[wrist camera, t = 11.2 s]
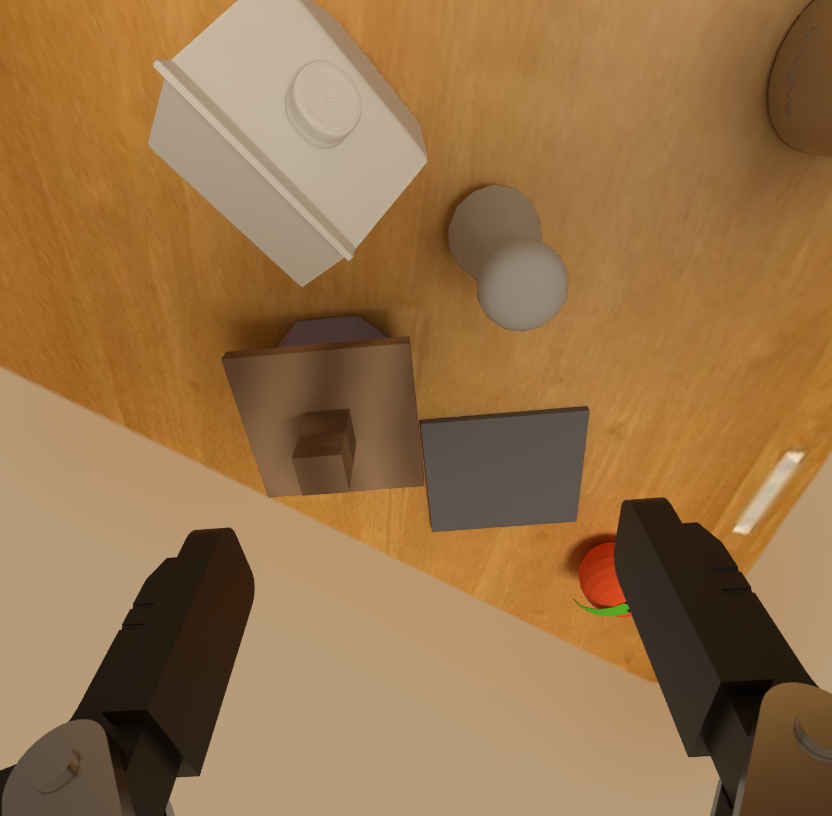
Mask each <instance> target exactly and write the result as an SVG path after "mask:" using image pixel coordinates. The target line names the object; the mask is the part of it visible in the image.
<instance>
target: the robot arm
mask: <svg viewBox="0 0 832 816" xmlns="http://www.w3.org/2000/svg"><path fill="white" fill-rule="evenodd" d="M768 106H769V113H770V117H771V121H772V124H773V127H774V128H775V130H776V131H777V133H778V135H779V136H780V138H781V139H782V140H784V141H785V142H786V143H787V144H788V145H789V146H790V147H793V148H795V149H798V150H800V151H802V152H806V153H811V154H816V155H821V156H826V157H831V158H832V0H814V1H813V2H812V3H811V4H810V5H809V6H808V7H807V8H806V9H805V11H804V12H803V13H802V14H801V15H800V17H799V18H798V20H797V21H796V23H795V24H794V25H793V27H792V28H791V30H790V31H789V33H788V35H787V37H786V38H785V40H784V42H783V44H782V46H781V48H780V50H779V52H778V55H777V58H776V61H775V64H774V67H773V70H772V73H771V77H770V84H769V90H768ZM614 565H615V571H616V575H617V579H618V582H619V584H620V587H621V589H622V592H623V594H624V597H625V599H626V602H627V604H628V607H629V609H630V612H631V614H632V617H633V619H634V622H635V624H636V627H637V629H638V632H639V635H640V637H641V640H642V642H643V645H644V647H645V650H646V652H647V655H648V657H649V660H650V662H651V665H652V667H653V670H654V672H655V675H656V677H657V680H658V682H659V685H660V687H661V689H662V692H663V694H664V697H665V700H666V702H667V705H668V707H669V710H670V712H671V715H672V717H673V720H674V722H675V725H676V727H677V730H678V732H679V735H680V737H681V740H682V742H683V745H684V747H685V750H686V752H687V755H688V757H700V756H711V758H712V760H713V763H714V765H715V767H716V770H717V772H718V774H719V777H720V779H719V782H718V785H717V789H716V793H715V797H714V802H713V806H712V810H711V814H710V816H832V694H831V693H829V692H827V691H825V690H822V689H820V688H819V687H818V686H817V685H816V684H815V682H814V681H813V680H812V679H811V677H810V676H809V675H808V673H807V672H806V671H805V669H804V668H803V666H802V664H801V663H800V661H799V660H798V658H797V657H796V655H795V654H794V652H793V651H792V649H791V648H790V646H789V645H788V643H787V641H786V640H785V639H784V637H783V635H782V634H781V632H780V631H779V629H778V628H777V626H776V625H775V623H774V622H773V620H772V618H771V617H770V615H769V614H768V612H767V611H766V609H765V608H764V606H763V605H762V603H761V602H760V600H759V599H758V597H757V595H756V594H755V593H753V592H752V591H751V586H750V585H749V583H748V582H747V580H746V579H745V577H744V576H743V574H742V572H739V571H738V566H737V565H736V563H735V562H734V560H733V559H732V557H731V556H730V554H729V553H728V551H727V549H726V548H725V546H724V545H723V543H722V542H721V541H720V540H718V539H717V538H716V537H715V536H713V535H712V534H711V533H710V532H708V531H707V530H706V529H705V528H704V527H702V526H701V525H700V524H699V523H697V522H696V523H682V522H681V520H680V519H679V517H678V515H677V514H676V512H675V510H674V509H673V507H672V505H671V504H670V502H669V501H668V500H667V499H666V498H663V497H661V498H647V499H633V500H625V501H623V503H622V506H621V511H620V517H619V523H618V529H617V535H616V541H615V547H614ZM254 590H255V588H254V578H253V574H252V571H251V569H250V566H249V564H248V562H247V560H246V557H245V555H244V552H243V550H242V548H241V546H240V543H239V541H238V539H237V536H236V534H235V532H234V531H233V530H232V529H231V528H217V529H203V530H194V531H192V532H191V533H190V534H189V535H188V536H187V538H186V540H185V542H184V544H183V546H182V548H181V550H180V552H179V554H178V556H177V557H174V558H166V560H165V561H164V562H163V563H162V564H161V565H160V566H159V567H158V568H157V569H156V570H155V571H154V572H153V573H152V574H151V575H150V576H149V577H148V578H147V579H146V581H145V582H144V584H143V586H142V588H141V590H140V592H139V594H138V596H137V598H136V599H135V601H134V603H133V609H130V611H129V613H128V614H127V616H126V618H125V620H124V622H123V624H122V630H119V631H118V633H117V635H116V637H115V639H114V641H113V642H112V645H111V646H110V648H109V650H108V652H107V654H106V656H105V658H104V659H103V661H102V663H101V665H100V667H99V669H98V671H97V673H96V674H95V676H94V678H93V680H92V682H91V684H90V686H89V687H88V690H87V691H86V693H85V695H84V697H83V699H82V701H81V702H80V704H79V706H78V708H77V710H76V711H75V713H74V715H73V716H72V718H71V719H70V720H69V722H67V723H65V724H62V725H60V726H58V727H56V728H55V729H53V730H51V731H50V732H48V733H47V734H45V735H44V736H43V737H41V738H40V739H39V740H38V741H37V742H35V743H34V744H33V745H32V746H31V747H30V748H29V749H28V750H27V751H26V752H25V754H24V755H23V756H22V757H21V758H20V760H19V761H18V763H17V764H15V765H13V766H11V767H8V768H6V769H3V770H0V816H174V812H173V808H172V805H171V803H170V801H169V797H170V795H171V792H172V789H173V786H174V783H175V780H176V777H193V776H200V773H201V770H202V767H203V763H204V760H205V757H206V754H207V750H208V747H209V744H210V740H211V737H212V734H213V731H214V728H215V724H216V721H217V718H218V715H219V711H220V708H221V705H222V701H223V698H224V695H225V692H226V688H227V685H228V682H229V679H230V676H231V672H232V669H233V666H234V662H235V659H236V656H237V653H238V650H239V646H240V643H241V640H242V637H243V633H244V630H245V627H246V624H247V620H248V617H249V614H250V610H251V607H252V604H253V600H254Z"/></svg>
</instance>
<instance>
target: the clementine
mask: <svg viewBox="0 0 832 816" xmlns="http://www.w3.org/2000/svg"><path fill="white" fill-rule="evenodd" d="M614 547H615V542H609V543H604V544H601V545H598V546H596V547H594V548H592V549H591V550H590V551H589V552H588V553H587V554H586V555H585V557H584V559H583V560H582V562H581V565H580V570H579V580H580V586H581V589H582V591H583V593H584V595H585V597H586V598H587V600H588V601H589V602H590V603H591V604H592V605H593V606H594V607H595V608H596V609H592V608H587V607H584V606H582V605H580V604H579V603H578V602H577V601H576V600H575V601H576V603H577V604H578V605H579V606H580V607H582V608H583V609H585V610H586V611H588V612H591V613H594V614H597V615H601V616H616V617H629V616H632V614H631V612H630V609H629V607H628V604H627V602H626V599H625V597H624V594H623V592H622V589H621V587H620V584H619V582H618V579H617V575H616V571H615V565H614Z"/></svg>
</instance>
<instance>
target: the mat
mask: <svg viewBox="0 0 832 816" xmlns="http://www.w3.org/2000/svg"><path fill="white" fill-rule="evenodd" d="M588 418H589V409H588V407H587V406H586V407H574V408H562V409H550V410H538V411H526V412H514V413H502V414H489V415H477V416H465V417H453V418H441V419H429V420H421V432H422V442H423V451H424V460H425V469H426V479H427V488H428V497H429V506H430V516H431V525H432V532H439V531H453V530H466V529H480V528H494V527H507V526H521V525H535V524H549V523H562V522H576V521H577V512H578V504H579V495H580V487H581V478H582V470H583V461H584V452H585V444H586V435H587V427H588Z"/></svg>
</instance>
